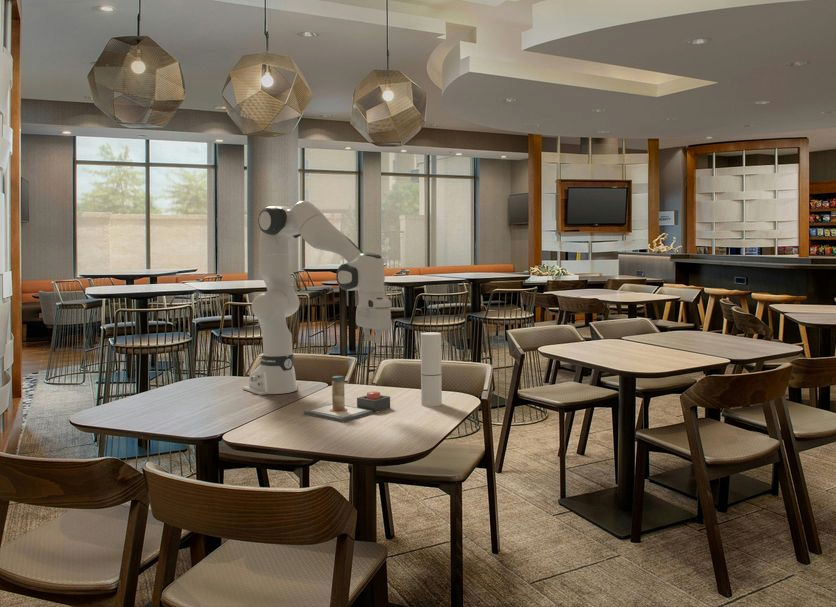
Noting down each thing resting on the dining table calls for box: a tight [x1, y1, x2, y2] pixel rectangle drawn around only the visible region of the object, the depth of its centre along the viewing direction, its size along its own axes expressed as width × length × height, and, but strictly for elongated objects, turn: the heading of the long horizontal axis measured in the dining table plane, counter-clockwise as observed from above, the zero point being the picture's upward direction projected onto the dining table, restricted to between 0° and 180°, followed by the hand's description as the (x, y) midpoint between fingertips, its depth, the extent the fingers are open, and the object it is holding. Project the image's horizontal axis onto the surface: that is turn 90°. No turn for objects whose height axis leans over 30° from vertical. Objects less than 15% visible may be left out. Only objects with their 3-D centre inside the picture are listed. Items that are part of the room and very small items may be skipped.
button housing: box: [356, 394, 391, 414], centre depth 227 cm, size 8×8×4 cm
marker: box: [331, 375, 346, 411], centre depth 220 cm, size 4×4×11 cm
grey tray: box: [303, 403, 374, 423], centre depth 221 cm, size 18×14×1 cm
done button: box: [366, 391, 381, 400], centre depth 227 cm, size 5×5×3 cm
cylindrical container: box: [420, 331, 443, 407], centre depth 232 cm, size 7×7×25 cm
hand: (372, 341), depth 225 cm, fingers open, 6 cm apart
